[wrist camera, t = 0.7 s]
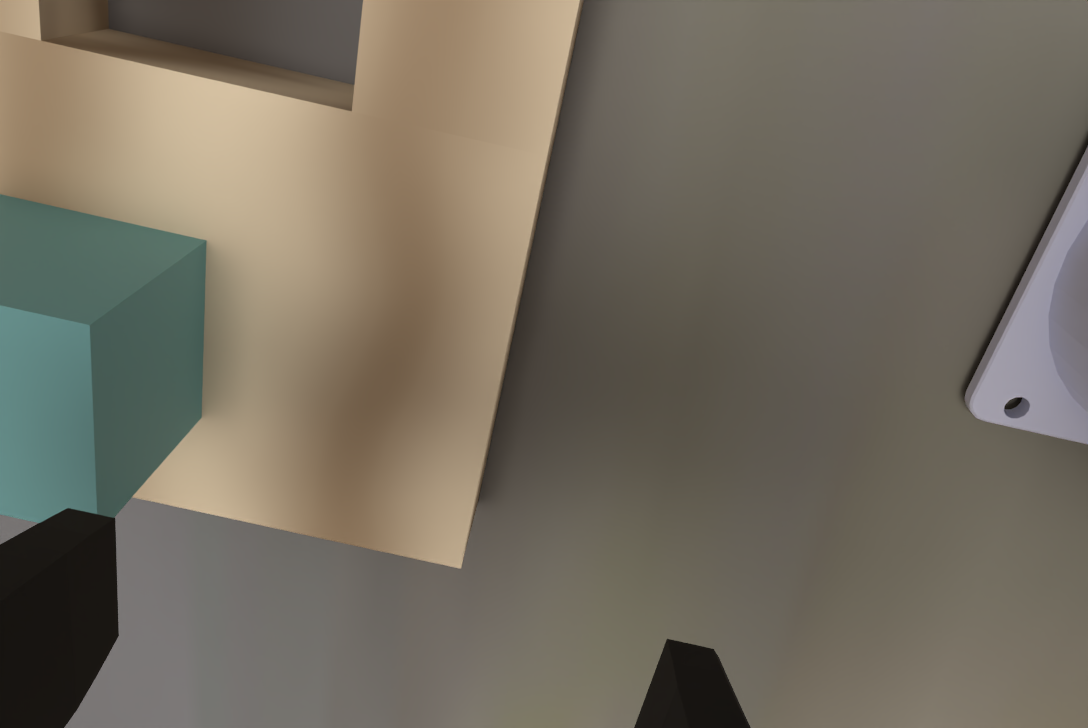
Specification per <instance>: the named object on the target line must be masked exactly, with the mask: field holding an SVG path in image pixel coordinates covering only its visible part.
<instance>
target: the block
mask: <svg viewBox="0 0 1088 728" xmlns="http://www.w3.org/2000/svg"><path fill="white" fill-rule="evenodd" d="M206 242H207V240H202V239H198V238H193V237H189V236H184V235H180V234H176V233H171V232H167V231H162V230H158V229H153V228H149V227H144V226H140V225H135V224H131V223H126V222H122V221H118V220H113V219H109V218H104V217H100V216H95V215H91V214H86V213H82V212H77V211H73V210H69V209H64V208H60V207H55V206H51V205H46V204H42V203H37V202H33V201H28V200H24V199H20V198H15V197H11V196H6V195H2V194H0V515H5V516H10V517H14V518H19V519H24V520H28V521H33V522H37V523H40V522H42V521H44V520H46V519H48V518H50V517H51V516H53V515H55V514H57V513H59V512H61V511H63V510H65V509H67V508H71V509H76V510H80V511H85V512H89V513H94V514H99V515H103V516H108V517H112V518H114V517H115V516H116V515H117V514H118V512H119V511H120V510H121V509H122V508H123V507H124V506H125V504H126V503H127V502H128V501H129V500H130V499H131V498H132V496H133V495H134V494H135V493H136V492H137V491H138V490H139V488H140V487H141V486H142V485H143V484H144V483H145V482H146V480H147V479H148V478H149V477H150V476H151V475H152V474H153V473H154V471H155V470H156V469H157V468H158V467H159V466H160V465H161V463H162V462H163V461H164V460H165V459H166V458H167V457H168V455H169V454H170V453H171V452H172V451H173V450H174V449H175V447H176V446H177V445H178V444H179V443H180V442H181V441H182V439H183V438H184V437H185V436H186V435H187V434H188V433H189V432H190V430H191V429H192V428H193V427H194V426H195V425H196V424H197V422H198V421H199V420H200V419H201V418H202V385H203V350H204V314H205V278H206Z"/></svg>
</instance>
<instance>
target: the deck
mask: <svg viewBox="0 0 1088 728" xmlns="http://www.w3.org/2000/svg"><path fill="white" fill-rule="evenodd" d="M583 2H584V0H0V194H2V195H6V196H11V197H15V198H20V199H24V200H28V201H33V202H37V203H42V204H46V205H51V206H55V207H60V208H64V209H69V210H73V211H77V212H82V213H86V214H91V215H95V216H100V217H104V218H109V219H113V220H118V221H122V222H126V223H131V224H135V225H140V226H144V227H149V228H153V229H158V230H162V231H167V232H171V233H176V234H180V235H184V236H189V237H193V238H198V239H202V240H207V242H206V278H205V314H204V350H203V385H202V418H201V419H200V420H199V421H198V422H197V424H196V425H195V426H194V427H193V428H192V429H191V430H190V432H189V433H188V434H187V435H186V436H185V437H184V438H183V439H182V441H181V442H180V443H179V444H178V445H177V446H176V447H175V449H174V450H173V451H172V452H171V453H170V454H169V455H168V457H167V458H166V459H165V460H164V461H163V462H162V463H161V465H160V466H159V467H158V468H157V469H156V470H155V471H154V473H153V474H152V475H151V476H150V477H149V478H148V479H147V480H146V482H145V483H144V484H143V485H142V486H141V487H140V488H139V490H138V491H137V492H136V493H135V494H134V495H133V496H132V497H134V498H139V499H143V500H148V501H152V502H157V503H162V504H166V505H171V506H175V507H180V508H185V509H189V510H194V511H198V512H203V513H208V514H212V515H217V516H221V517H226V518H230V519H235V520H240V521H244V522H249V523H253V524H258V525H263V526H267V527H272V528H276V529H281V530H286V531H290V532H295V533H299V534H304V535H308V536H313V537H318V538H322V539H327V540H331V541H336V542H341V543H345V544H350V545H354V546H359V547H364V548H368V549H373V550H377V551H382V552H387V553H391V554H396V555H400V556H405V557H409V558H414V559H419V560H423V561H428V562H432V563H437V564H442V565H446V566H451V567H455V568H460V569H461V566H462V562H463V558H464V554H465V550H466V546H467V542H468V539H469V535H470V531H471V527H472V523H473V519H474V515H475V511H476V507H477V503H478V498H479V494H480V489H481V484H482V480H483V475H484V470H485V465H486V461H487V456H488V451H489V446H490V442H491V437H492V432H493V428H494V423H495V418H496V413H497V409H498V404H499V399H500V394H501V390H502V385H503V380H504V375H505V371H506V366H507V361H508V357H509V352H510V347H511V342H512V338H513V333H514V328H515V323H516V319H517V314H518V309H519V305H520V300H521V295H522V290H523V286H524V281H525V276H526V271H527V267H528V262H529V257H530V252H531V248H532V243H533V238H534V234H535V229H536V224H537V219H538V215H539V210H540V205H541V200H542V196H543V191H544V186H545V182H546V177H547V172H548V167H549V163H550V158H551V153H552V148H553V144H554V139H555V134H556V129H557V125H558V120H559V115H560V111H561V106H562V101H563V96H564V92H565V87H566V82H567V77H568V73H569V68H570V63H571V59H572V54H573V49H574V44H575V40H576V35H577V30H578V25H579V21H580V16H581V11H582V7H583Z"/></svg>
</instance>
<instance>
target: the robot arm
mask: <svg viewBox="0 0 1088 728" xmlns="http://www.w3.org/2000/svg"><path fill="white" fill-rule="evenodd" d="M1015 397H1022V401H1021V403H1020V404H1019V405H1018V406H1017V407H1015V408H1013V409H1004V407H1005V405H1006V403H1007V402H1008V401H1009V400H1011V399H1013V398H1015ZM965 403H966V406H967V407H968V409H969V410H970V411H971V413H972V414H973V415H974V416H975V417H976V418H978V419H980V420H982V421H985V422H990V423H994V424H999V425H1003V426H1008V427H1012V428H1016V429H1021V430H1025V431H1030V432H1034V433H1039V434H1043V435H1048V436H1052V437H1057V438H1061V439H1066V440H1070V441H1074V442H1079V443H1083V444H1088V147H1087V149H1086V151H1085V153H1084V155H1083V157H1082V159H1081V161H1080V163H1079V165H1078V167H1077V169H1076V171H1075V173H1074V175H1073V177H1072V179H1071V181H1070V183H1069V185H1068V187H1067V189H1066V191H1065V193H1064V195H1063V197H1062V199H1061V201H1060V203H1059V205H1058V207H1057V209H1056V211H1055V213H1054V215H1053V217H1052V219H1051V221H1050V223H1049V225H1048V227H1047V229H1046V231H1045V233H1044V235H1043V237H1042V239H1041V241H1040V243H1039V245H1038V247H1037V249H1036V251H1035V253H1034V255H1033V257H1032V259H1031V261H1030V263H1029V265H1028V267H1027V269H1026V271H1025V273H1024V275H1023V277H1022V280H1021V282H1020V284H1019V286H1018V288H1017V290H1016V292H1015V294H1014V296H1013V298H1012V300H1011V302H1010V304H1009V306H1008V308H1007V310H1006V312H1005V314H1004V316H1003V318H1002V320H1001V322H1000V324H999V326H998V328H997V330H996V332H995V334H994V336H993V338H992V340H991V342H990V344H989V346H988V348H987V350H986V352H985V354H984V356H983V358H982V360H981V362H980V364H979V366H978V368H977V370H976V372H975V374H974V376H973V378H972V380H971V382H970V384H969V386H968V388H967V390H966V394H965ZM118 636H119V634H118V600H117V566H116V532H115V518H112V517H108V516H103V515H99V514H94V513H89V512H85V511H80V510H76V509H71V508H67V509H65V510H63V511H61V512H59V513H57V514H55V515H53V516H51V517H50V518H48V519H46V520H44V521H42V522H40V523H39V524H37V525H35V526H33V527H31V528H29V529H28V530H26V531H24V532H22V533H20V534H19V535H17V536H15V537H13V538H11V539H10V540H8V541H6V542H4V543H2V544H1V545H0V728H64V727H65V726H66V724H67V723H68V721H69V720H70V719H71V717H72V716H73V714H74V713H75V712H76V710H77V709H78V707H79V705H80V703H81V702H82V700H83V698H84V697H85V695H86V693H87V691H88V690H89V688H90V686H91V685H92V683H93V681H94V679H95V678H96V676H97V674H98V672H99V671H100V669H101V667H102V665H103V663H104V661H105V660H106V658H107V656H108V654H109V652H110V651H111V649H112V647H113V645H114V643H115V641H116V640H117V638H118ZM634 728H750V725H749V723H748V721H747V719H746V717H745V715H744V713H743V710H742V708H741V706H740V704H739V702H738V700H737V697H736V695H735V693H734V691H733V688H732V686H731V684H730V682H729V679H728V677H727V675H726V673H725V670H724V668H723V666H722V664H721V661H720V659H719V657H718V655H717V654H716V652H715V651H714V649H711V648H706V647H702V646H697V645H693V644H688V643H683V642H679V641H674V640H670V639H667V641H666V643H665V646H664V649H663V651H662V654H661V657H660V660H659V662H658V665H657V668H656V670H655V673H654V676H653V679H652V681H651V684H650V687H649V689H648V692H647V695H646V698H645V700H644V703H643V706H642V708H641V711H640V714H639V717H638V719H637V722H636V725H635V727H634Z"/></svg>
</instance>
